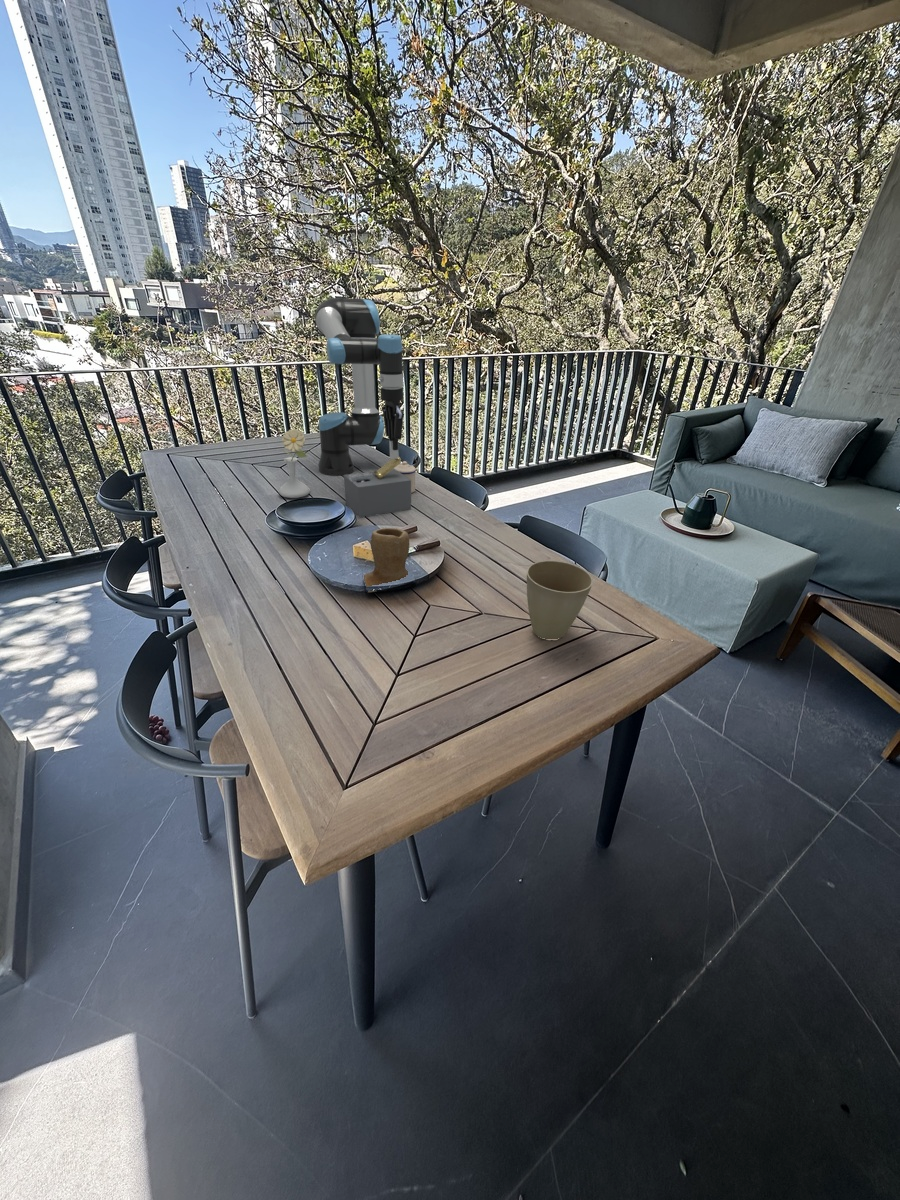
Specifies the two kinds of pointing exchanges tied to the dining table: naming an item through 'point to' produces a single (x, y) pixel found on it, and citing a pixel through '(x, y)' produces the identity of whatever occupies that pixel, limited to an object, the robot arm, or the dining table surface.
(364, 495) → the post block
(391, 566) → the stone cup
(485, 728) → the dining table surface
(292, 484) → the flower in vase
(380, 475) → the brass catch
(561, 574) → the plant pot
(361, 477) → the steel pin
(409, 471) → the teacup with lid
